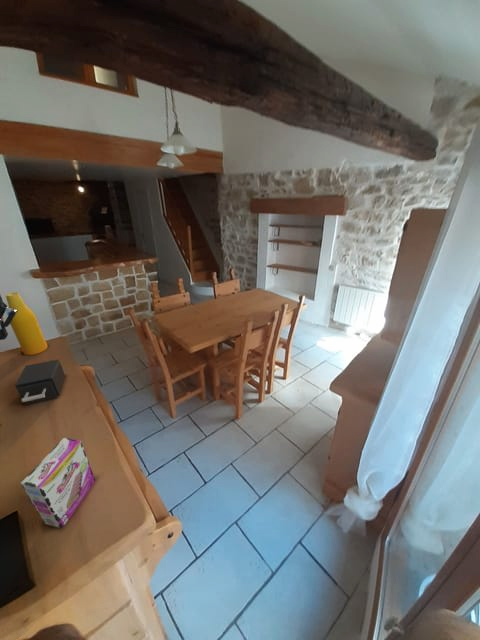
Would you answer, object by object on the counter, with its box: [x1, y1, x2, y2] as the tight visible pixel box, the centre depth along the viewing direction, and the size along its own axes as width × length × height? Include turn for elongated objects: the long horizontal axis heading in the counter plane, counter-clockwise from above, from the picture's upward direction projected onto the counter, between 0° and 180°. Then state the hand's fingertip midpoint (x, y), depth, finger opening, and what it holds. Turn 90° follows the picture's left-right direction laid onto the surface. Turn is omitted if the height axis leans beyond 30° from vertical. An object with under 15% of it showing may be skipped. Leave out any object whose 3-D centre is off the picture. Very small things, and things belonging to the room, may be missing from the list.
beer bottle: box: [5, 291, 48, 356], centre depth 112 cm, size 9×9×29 cm
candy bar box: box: [20, 437, 96, 529], centre depth 58 cm, size 11×5×16 cm, turn 169°
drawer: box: [16, 380, 59, 407], centre depth 90 cm, size 15×9×8 cm, turn 23°
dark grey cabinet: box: [14, 359, 66, 397], centre depth 93 cm, size 12×11×10 cm
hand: (2, 338), depth 81 cm, fingers closed
